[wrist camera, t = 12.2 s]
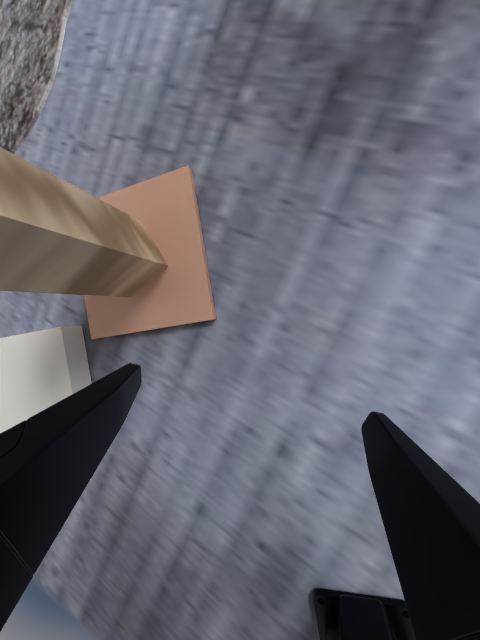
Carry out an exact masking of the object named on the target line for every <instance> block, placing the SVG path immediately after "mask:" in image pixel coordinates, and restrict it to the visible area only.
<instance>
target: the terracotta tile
mask: <svg viewBox="0 0 480 640" xmlns="http://www.w3.org/2000/svg"><path fill="white" fill-rule="evenodd" d="M98 199H100V200H102V201H104V202H106V203H108V204H110V205H111V206H113V207H115V208H117V209H119V210H121V211H123V212H125V213H127V214H129V215H130V216H132V217H134V218H136V219H138V220H140V221H141V222H142V223H143V225H144V226H145V228H146V230H147V231H148V233H149V235H150V236H151V238H152V239H153V241H154V243H155V244H156V246H157V248H158V249H159V251H160V252H161V254H162V256H163V257H164V259H165V261H166V262H167V264H168V265H169V266H168V267H167V268H166V269H164V270H163V271H162V272H161V273H159V274H158V275H157V276H156V277H155V278H153V279H152V280H151V281H150V282H148V283H147V284H146V285H145V286H143V287H142V288H141V289H140V290H138V291H137V292H136V293H135V294H134V295H132V296H131V297H115V296H96V295H84V299H85V305H86V311H87V317H88V322H89V328H90V334H91V339H97V338H104V337H110V336H116V335H122V334H128V333H134V332H140V331H146V330H152V329H159V328H165V327H171V326H177V325H183V324H189V323H195V322H201V321H207V320H213V319H216V314H215V308H214V302H213V296H212V290H211V284H210V278H209V271H208V265H207V259H206V253H205V247H204V241H203V235H202V229H201V222H200V216H199V210H198V204H197V198H196V192H195V186H194V180H193V174H192V169H191V168H190V167H189V165H188V166H185V167H182V168H179V169H176V170H174V171H171V172H168V173H165V174H163V175H160V176H157V177H154V178H151V179H149V180H146V181H143V182H140V183H137V184H135V185H132V186H129V187H126V188H124V189H121V190H118V191H115V192H112V193H110V194H107V195H104V196H101V197H98Z"/></svg>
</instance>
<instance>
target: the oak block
mask: <svg viewBox="0 0 480 640" xmlns="http://www.w3.org/2000/svg"><path fill="white" fill-rule="evenodd" d="M168 266H169V265H168V264H167V262H166V261H165V259H164V257H163V256H162V254H161V252H160V251H159V249H158V248H157V246H156V244H155V243H154V241H153V239H152V238H151V236H150V235H149V233H148V231H147V230H146V228H145V226H144V225H143V223H142V222H141V221H140V220H138V219H136V218H134V217H132V216H130V215H129V214H127V213H125V212H123V211H121V210H119V209H117V208H115V207H113V206H111V205H110V204H108V203H106V202H104V201H102V200H100V199H98V198H96V197H94V196H92V195H90V194H89V193H87V192H85V191H83V190H81V189H79V188H77V187H75V186H73V185H71V184H70V183H68V182H66V181H64V180H62V179H60V178H58V177H56V176H54V175H52V174H50V173H49V172H47V171H45V170H43V169H41V168H39V167H37V166H35V165H33V164H31V163H30V162H28V161H26V160H24V159H22V158H20V157H18V156H16V155H14V154H12V153H11V152H9V151H7V150H5V149H3V148H1V147H0V290H1V291H20V292H39V293H58V294H77V295H96V296H115V297H131V296H132V295H134V294H135V293H136V292H137V291H138V290H140V289H141V288H142V287H143V286H145V285H146V284H147V283H148V282H150V281H151V280H152V279H153V278H155V277H156V276H157V275H158V274H159V273H161V272H162V271H163V270H164V269H166V268H167V267H168Z"/></svg>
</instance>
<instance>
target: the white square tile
mask: <svg viewBox="0 0 480 640" xmlns="http://www.w3.org/2000/svg"><path fill="white" fill-rule="evenodd" d="M90 384H92V382H91V376H90V371H89V365H88V359H87V353H86V347H85V341H84V336H83V330H82V325H76V326H64V327H57V328H52V329H47V330H41V331H36V332H31V333H26V334H20V335H15V336H10V337H4V338H0V433H2V432H4V431H6V430H8V429H10V428H12V427H13V426H15V425H17V424H19V423H21V422H22V421H25V420H26V421H27V419H28V418H30V417H32V416H34V415H35V414H37V413H39V412H41V411H43V410H45V409H46V408H48V407H50V406H52V405H54V404H56V403H57V402H59V401H61V400H63V399H65V398H66V397H68V396H70V395H72V394H74V393H76V392H77V391H79V390H81V389H83V388H85V387H87V386H88V385H90Z"/></svg>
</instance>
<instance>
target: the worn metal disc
mask: <svg viewBox="0 0 480 640" xmlns="http://www.w3.org/2000/svg"><path fill="white" fill-rule="evenodd" d="M72 2H73V0H0V147H1V148H3V149H5V150H7V151H9V152H11V153H12V154H15V152H16V151H17V149H18V148H19V147H20V145H21V144H22V143H23V141H24V140H25V139H26V137H27V135H28V134H29V132H30V130H31V129H32V127H33V125H34V124H35V122H36V120H37V119H38V117H39V115H40V112H41V110H42V108H43V106H44V103H45V101H46V99H47V97H48V94H49V92H50V90H51V88H52V85H53V81H54V78H55V75H56V71H57V67H58V63H59V58H60V54H61V49H62V45H63V39H64V33H65V28H66V22H67V18H68V15H69V12H70V8H71V5H72Z"/></svg>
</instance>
